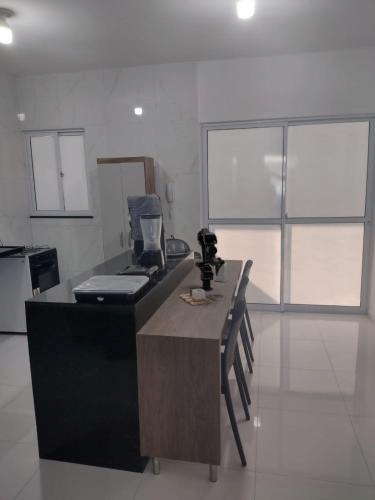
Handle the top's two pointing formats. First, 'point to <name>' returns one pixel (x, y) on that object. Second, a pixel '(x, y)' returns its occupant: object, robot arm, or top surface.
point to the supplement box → (222, 273)
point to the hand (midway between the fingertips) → (210, 276)
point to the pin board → (189, 299)
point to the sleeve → (198, 295)
